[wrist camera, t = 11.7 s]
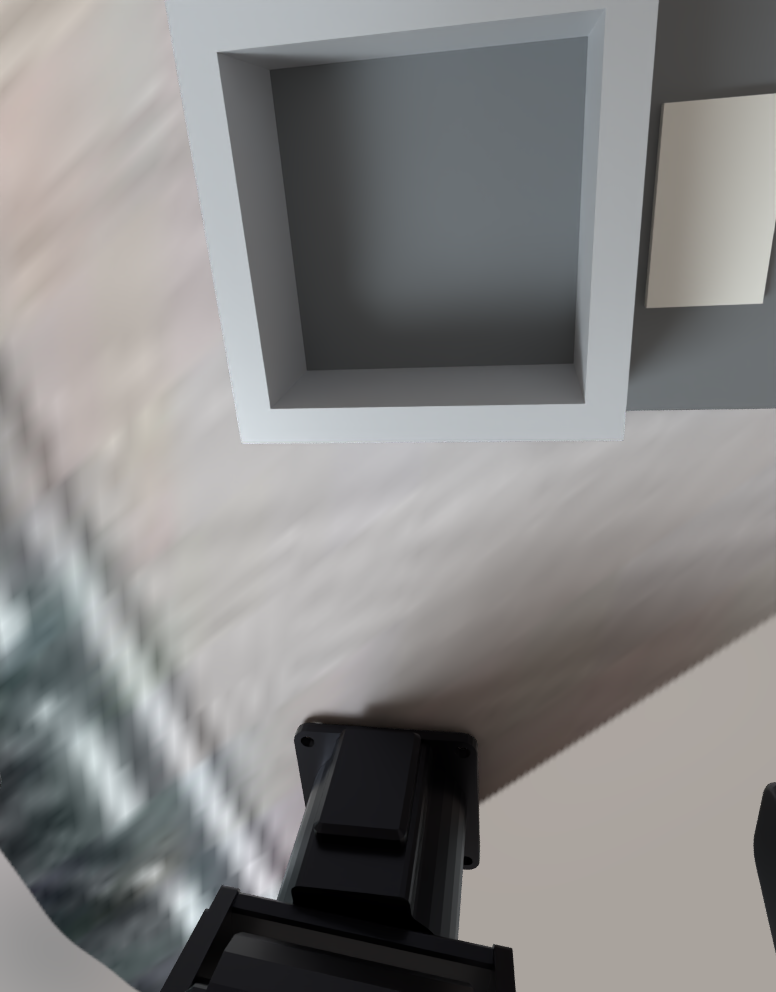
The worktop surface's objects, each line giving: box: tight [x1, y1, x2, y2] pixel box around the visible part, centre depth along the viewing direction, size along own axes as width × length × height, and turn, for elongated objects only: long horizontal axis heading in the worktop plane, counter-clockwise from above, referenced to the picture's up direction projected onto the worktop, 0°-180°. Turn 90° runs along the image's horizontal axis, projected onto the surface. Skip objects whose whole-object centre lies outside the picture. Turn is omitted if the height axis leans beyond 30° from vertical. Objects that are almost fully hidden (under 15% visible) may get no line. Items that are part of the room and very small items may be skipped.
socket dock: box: [165, 0, 776, 444], centre depth 13 cm, size 16×13×4 cm
